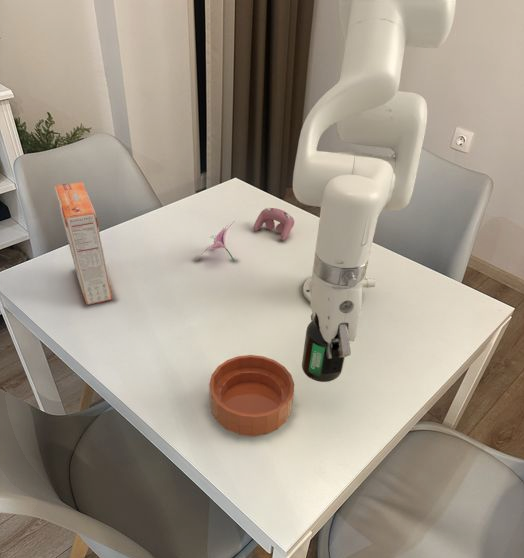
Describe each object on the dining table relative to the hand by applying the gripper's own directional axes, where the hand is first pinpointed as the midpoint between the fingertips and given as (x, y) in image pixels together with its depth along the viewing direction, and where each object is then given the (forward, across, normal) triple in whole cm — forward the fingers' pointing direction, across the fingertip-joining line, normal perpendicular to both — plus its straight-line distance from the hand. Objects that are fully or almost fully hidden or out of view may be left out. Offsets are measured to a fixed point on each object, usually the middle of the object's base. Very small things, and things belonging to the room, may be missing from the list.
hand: (324, 355), depth 85 cm
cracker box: (+11, +40, +40) cm, 58 cm away
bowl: (+11, 0, +12) cm, 16 cm away
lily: (+10, +48, +11) cm, 50 cm away
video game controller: (+10, +58, -5) cm, 59 cm away
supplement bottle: (+3, 0, 0) cm, 3 cm away
